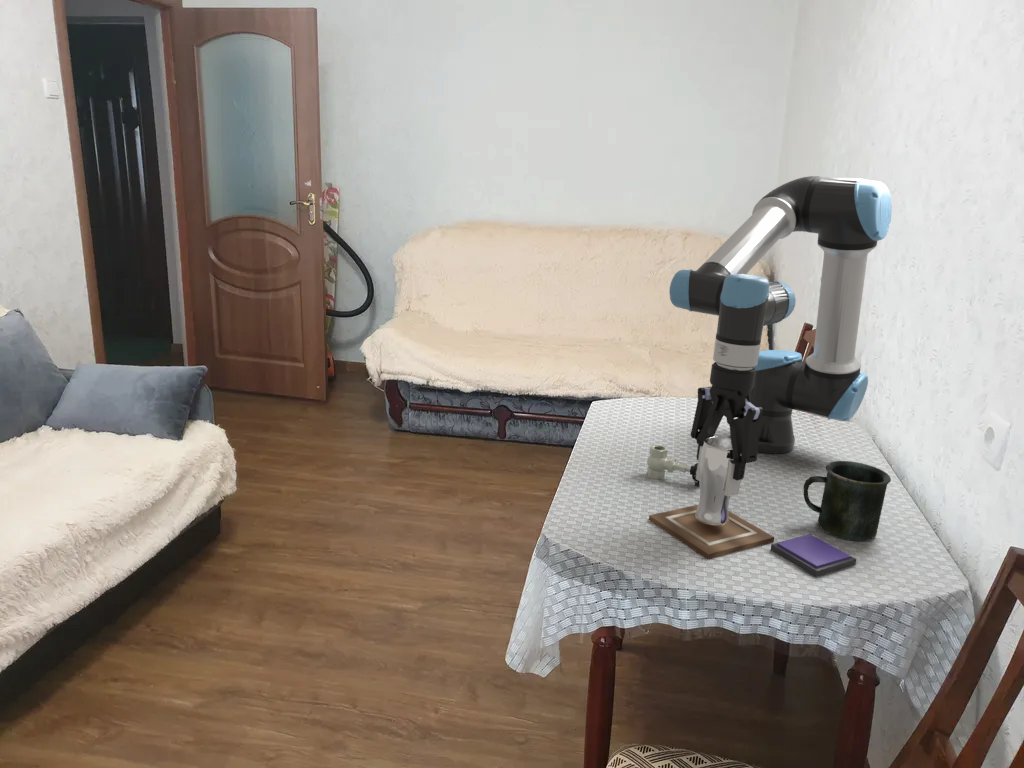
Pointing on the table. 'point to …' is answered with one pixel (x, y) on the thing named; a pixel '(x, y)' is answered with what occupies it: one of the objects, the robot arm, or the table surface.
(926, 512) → the table surface
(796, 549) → the ink pad
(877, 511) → the mug
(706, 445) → the beer glass
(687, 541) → the board
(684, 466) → the valve
